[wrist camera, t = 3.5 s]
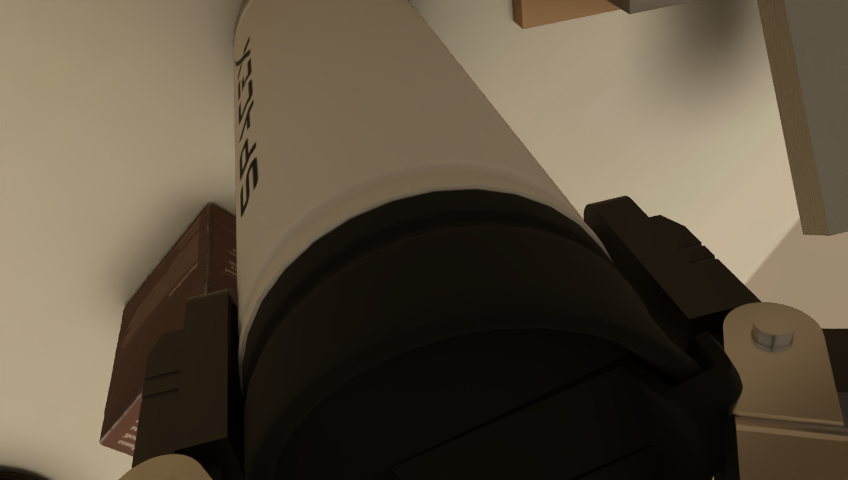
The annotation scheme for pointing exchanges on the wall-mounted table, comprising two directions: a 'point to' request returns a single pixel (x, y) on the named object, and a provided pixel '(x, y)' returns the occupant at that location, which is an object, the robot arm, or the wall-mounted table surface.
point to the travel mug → (432, 279)
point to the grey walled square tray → (577, 9)
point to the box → (166, 314)
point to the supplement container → (14, 476)
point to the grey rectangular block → (812, 103)
